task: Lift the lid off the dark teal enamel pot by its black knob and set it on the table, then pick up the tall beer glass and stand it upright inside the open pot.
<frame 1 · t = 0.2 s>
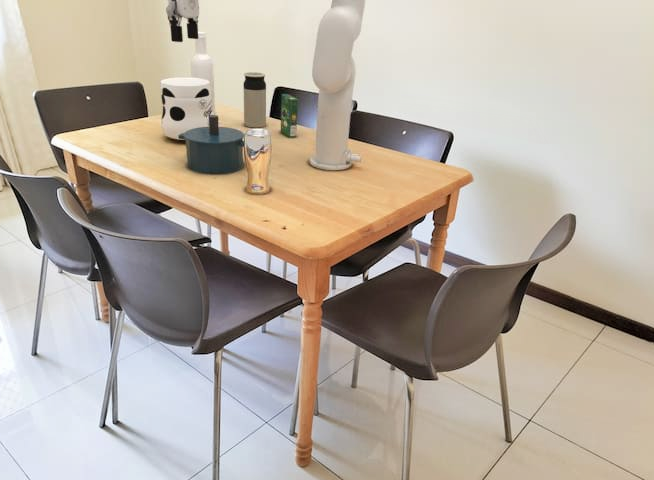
hand: (185, 40, 146), 31 cm above the table, tool pointing down, fingers open, 9 cm apart
lid: (214, 135, 143), point 8 cm above the table, touching pot
travel mug: (255, 125, 188), on the table
beer glass: (258, 190, 132), on the table
coffee box: (288, 135, 179), on the table
pot: (215, 165, 147), on the table
bottle: (205, 120, 191), on the table
milk container: (189, 138, 169), on the table
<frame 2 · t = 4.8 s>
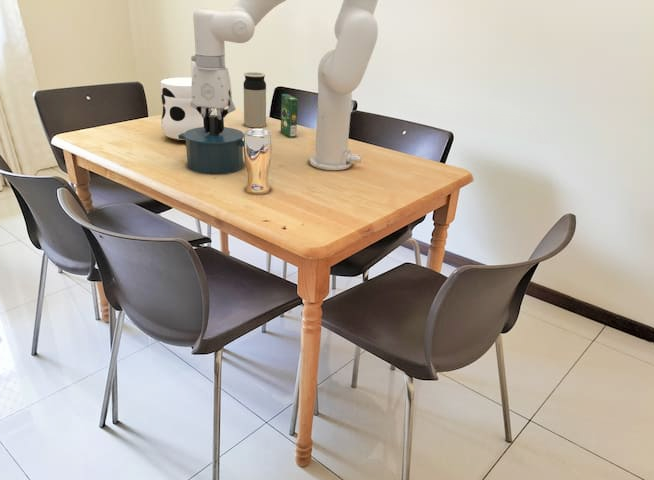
hand: (214, 131, 142), 10 cm above the table, tool pointing down, fingers closed on lid, 2 cm apart
lid: (214, 135, 143), point 9 cm above the table, touching gripper, pot
everything else where it was.
when the fingers open (2 cm above the table, at t = 11.9 s): lid stays where it is, point 1 cm above the table.
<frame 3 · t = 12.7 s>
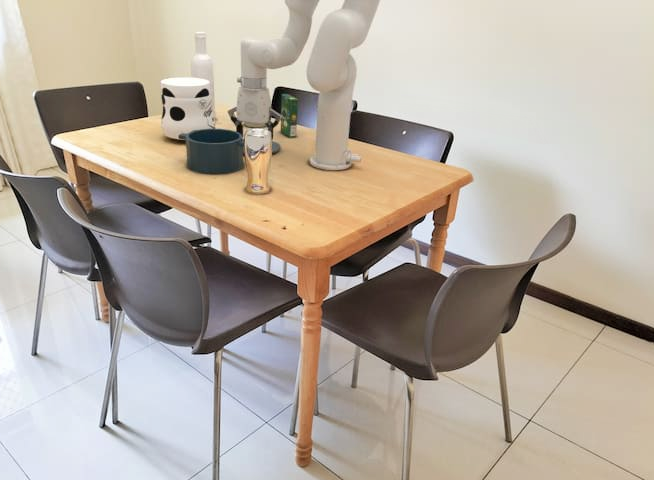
hand: (254, 140, 160), 3 cm above the table, tool pointing down, fingers open, 9 cm apart
lid: (254, 147, 162), point 1 cm above the table
everything else where it was.
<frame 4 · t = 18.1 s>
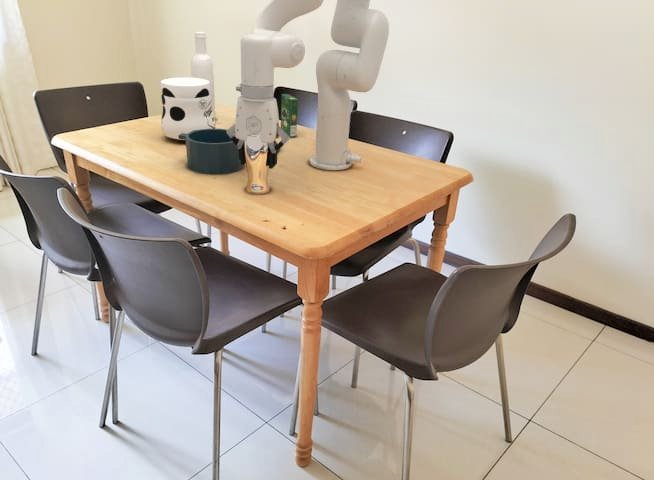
hand: (258, 164, 128), 7 cm above the table, tool pointing down, fingers closed on beer glass, 7 cm apart
beer glass: (258, 190, 132), on the table, touching gripper
everything else where it was.
when the fingers open (7 cm above the table, at t = 26.3 s): beer glass stays where it is, resting on pot.
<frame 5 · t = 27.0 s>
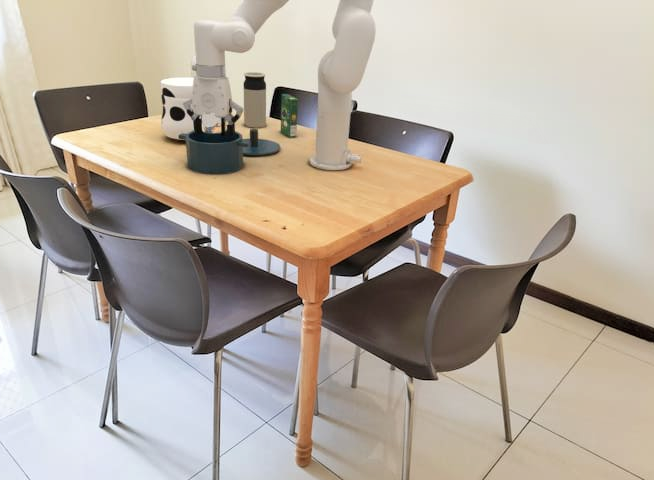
hand: (214, 135, 143), 8 cm above the table, tool pointing down, fingers open, 9 cm apart
beer glass: (215, 164, 147), resting on pot
everything else where it was.
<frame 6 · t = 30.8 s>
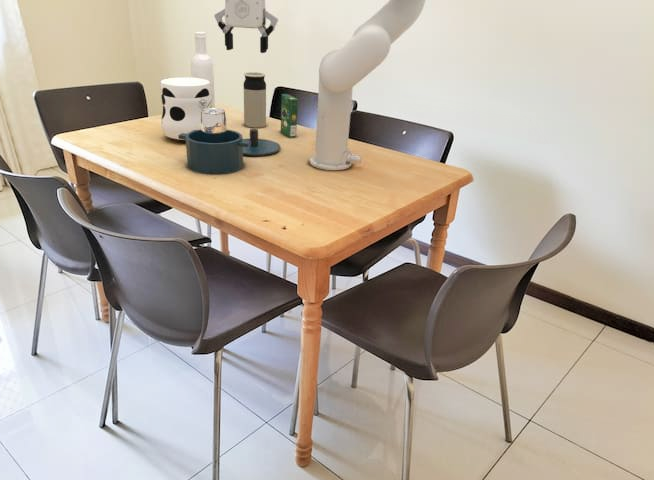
hand: (246, 51, 137), 30 cm above the table, tool pointing down, fingers open, 9 cm apart
nothing on the table moved.
at the end: lid inside the target area (0.2 cm from its centre), point 0.6 cm above the table; beer glass inside the target area in the pot (0.0 cm from its centre), point 0.3 cm above the pot's base; beer glass tilted 0° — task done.
